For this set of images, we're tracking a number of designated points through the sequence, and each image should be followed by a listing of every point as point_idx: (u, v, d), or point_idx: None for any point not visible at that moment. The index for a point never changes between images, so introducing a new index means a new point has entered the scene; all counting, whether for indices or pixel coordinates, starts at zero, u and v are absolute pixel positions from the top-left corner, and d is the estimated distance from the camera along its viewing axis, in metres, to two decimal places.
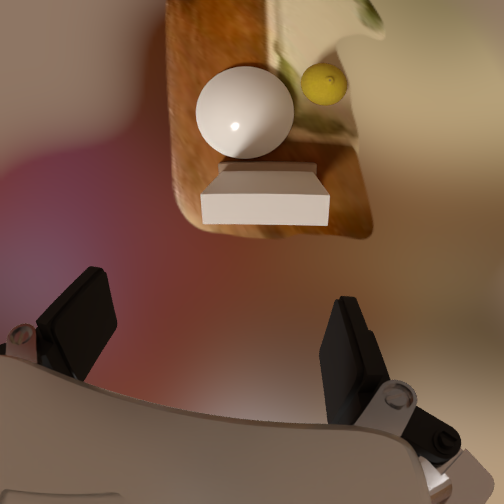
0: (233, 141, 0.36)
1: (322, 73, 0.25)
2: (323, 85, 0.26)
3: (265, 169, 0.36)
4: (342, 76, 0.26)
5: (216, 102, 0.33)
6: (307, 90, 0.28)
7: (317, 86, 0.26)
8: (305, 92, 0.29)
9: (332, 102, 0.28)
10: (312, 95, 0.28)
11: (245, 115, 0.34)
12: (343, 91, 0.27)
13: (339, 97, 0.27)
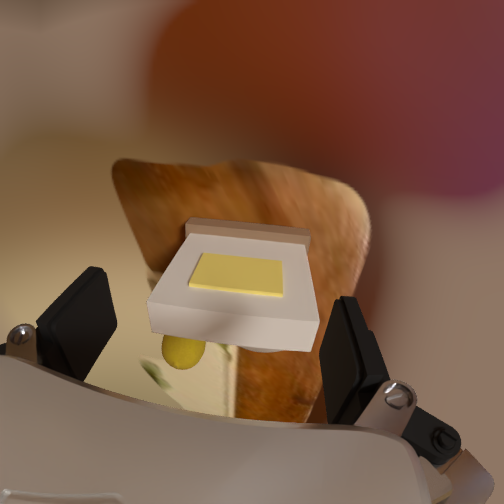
0: None
1: (183, 368, 0.32)
2: (181, 361, 0.31)
3: None
4: (166, 361, 0.32)
5: None
6: (197, 349, 0.32)
7: (187, 359, 0.31)
8: (199, 344, 0.33)
9: (173, 337, 0.32)
10: (192, 346, 0.32)
11: None
12: (163, 349, 0.32)
13: (166, 344, 0.32)
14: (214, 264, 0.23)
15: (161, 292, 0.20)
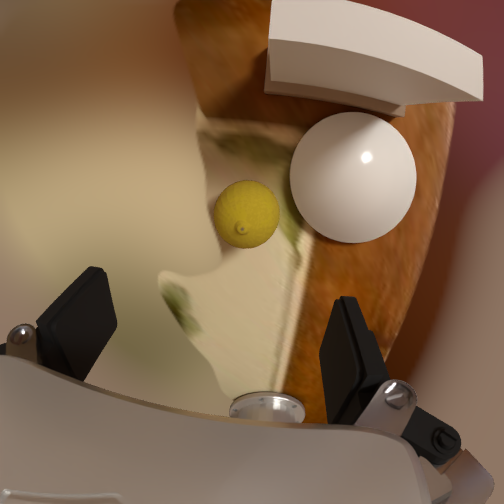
0: (378, 140, 0.23)
1: (251, 237, 0.21)
2: (252, 219, 0.20)
3: (342, 92, 0.21)
4: (221, 231, 0.22)
5: (388, 200, 0.25)
6: (274, 207, 0.22)
7: (261, 217, 0.21)
8: (276, 203, 0.23)
9: (237, 188, 0.22)
10: (268, 200, 0.21)
11: (356, 173, 0.24)
12: (220, 207, 0.21)
13: (227, 197, 0.21)
14: None
15: None
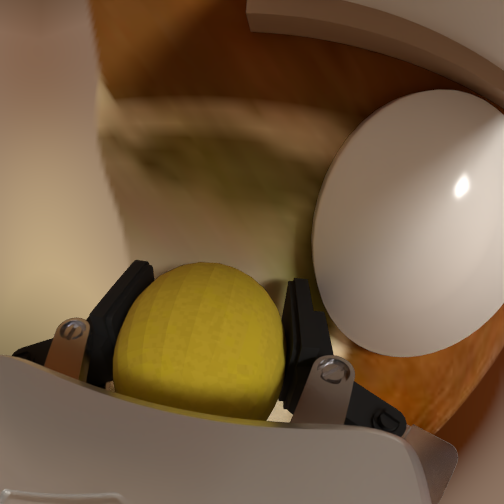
0: (499, 162, 0.08)
1: None
2: None
3: (447, 41, 0.05)
4: None
5: (492, 280, 0.10)
6: (273, 373, 0.07)
7: None
8: (278, 348, 0.08)
9: (158, 321, 0.07)
10: (253, 363, 0.06)
11: (457, 232, 0.09)
12: (116, 374, 0.06)
13: (127, 352, 0.06)
14: None
15: None
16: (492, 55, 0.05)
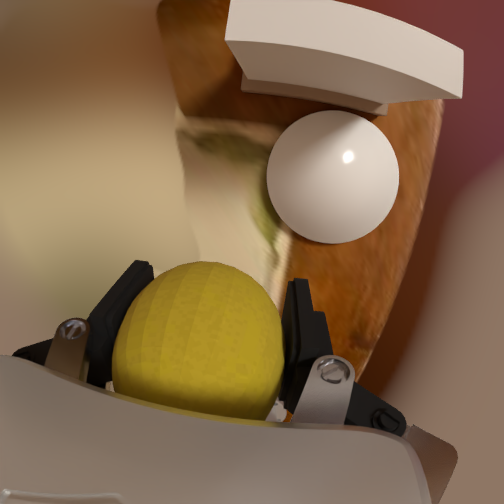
0: (358, 139, 0.23)
1: None
2: None
3: (321, 91, 0.20)
4: None
5: (368, 201, 0.25)
6: (272, 373, 0.07)
7: None
8: (277, 347, 0.08)
9: (157, 320, 0.07)
10: (252, 362, 0.06)
11: (335, 173, 0.24)
12: (115, 372, 0.06)
13: (126, 351, 0.06)
14: None
15: None
16: (343, 92, 0.20)
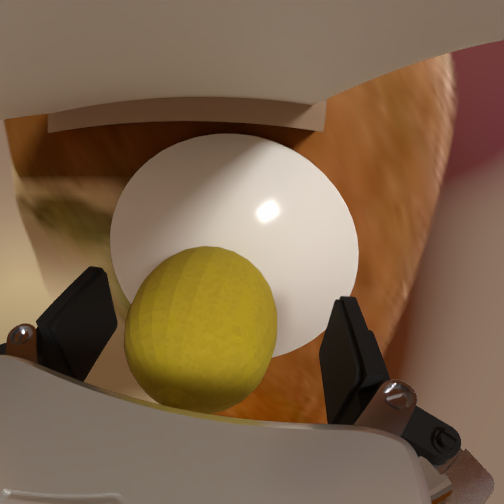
0: (265, 190, 0.12)
1: (203, 412, 0.08)
2: (198, 388, 0.07)
3: (166, 101, 0.10)
4: None
5: (295, 302, 0.14)
6: (263, 338, 0.08)
7: (223, 380, 0.07)
8: (268, 318, 0.09)
9: (166, 289, 0.08)
10: (245, 325, 0.08)
11: None
12: (127, 337, 0.08)
13: (139, 315, 0.08)
14: None
15: None
16: (206, 95, 0.09)
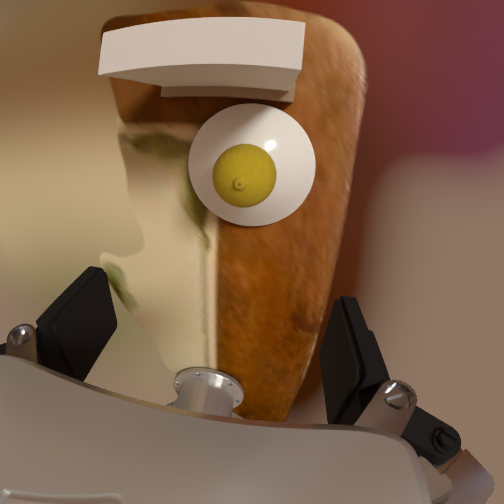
0: (269, 127, 0.26)
1: (248, 194, 0.21)
2: (249, 176, 0.21)
3: (227, 88, 0.23)
4: (219, 189, 0.22)
5: (285, 184, 0.28)
6: (271, 167, 0.22)
7: (258, 174, 0.21)
8: (273, 164, 0.23)
9: (236, 148, 0.22)
10: (265, 160, 0.22)
11: None
12: (219, 165, 0.21)
13: (225, 156, 0.21)
14: None
15: None
16: (246, 86, 0.22)
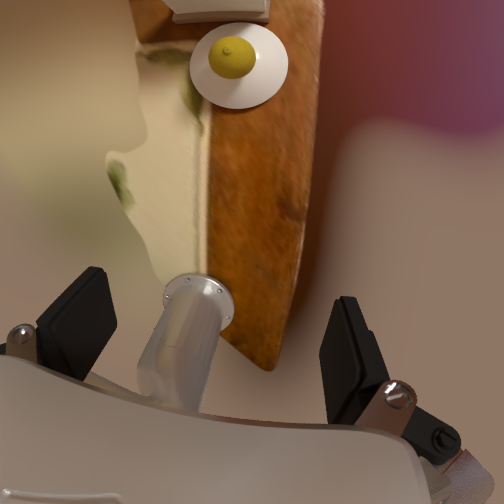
0: (251, 37, 0.29)
1: (234, 58, 0.24)
2: (234, 46, 0.24)
3: (221, 12, 0.26)
4: (212, 58, 0.25)
5: (264, 75, 0.31)
6: (251, 47, 0.25)
7: (241, 46, 0.24)
8: None
9: (226, 37, 0.25)
10: (246, 41, 0.25)
11: None
12: (213, 44, 0.24)
13: (218, 40, 0.24)
14: None
15: None
16: (234, 9, 0.26)
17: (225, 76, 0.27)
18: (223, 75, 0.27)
